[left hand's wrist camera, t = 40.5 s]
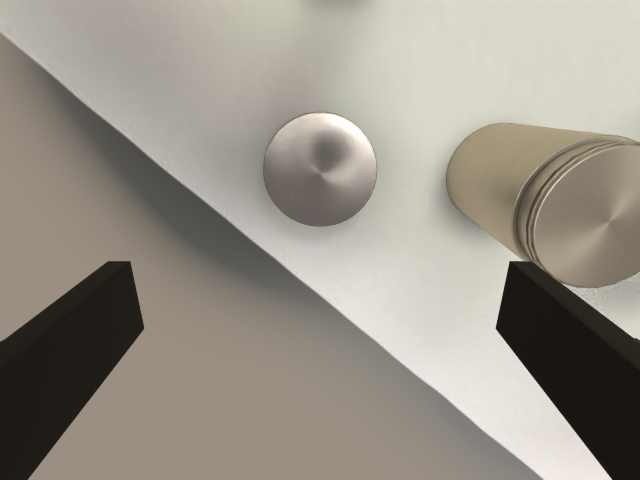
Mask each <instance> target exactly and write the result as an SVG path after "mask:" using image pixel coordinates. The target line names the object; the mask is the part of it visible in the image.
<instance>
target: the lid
mask: <svg viewBox="0 0 640 480" xmlns="http://www.w3.org/2000/svg"><path fill="white" fill-rule="evenodd" d="M263 173H264V181H265V185H266V188H267V191H268V193H269V195H270V197H271V199H272V201H273V202H274V203H275V205H276V206H277V207H278V208H279V209H280V210H281V211H282V212H283V213H284V214H285V215H287V216H288V217H290V218H291V219H293V220H295V221H297V222H299V223H302V224H305V225H310V226H330V225H335V224H338V223H341V222H343V221H345V220H347V219H349V218H351V217H352V216H354V215H355V214H356V213H357V212H359V211H360V210H361V208H362V207H363V206H364V205H365V204H366V202H367V201H368V199H369V198H370V196H371V194H372V192H373V189H374V186H375V182H376V176H377V163H376V157H375V153H374V150H373V148H372V145H371V143H370V141H369V140H368V138H367V137H366V135H365V134H364V133H363V132H362V131H361V130H360V129H359V128H358V127H357V126H356V125H355V124H353V123H352V122H351V121H349V120H347V119H346V118H344V117H342V116H339V115H336V114H333V113H328V112H313V113H308V114H304V115H301V116H299V117H297V118H295V119H293V120H291V121H290V122H288V123H287V124H286V125H284V126H283V127H282V128H281V129H280V130H279V131H278V132H277V133H276V135H275V136H274V137H273V139H272V140H271V142H270V144H269V146H268V148H267V151H266V154H265V158H264V165H263Z"/></svg>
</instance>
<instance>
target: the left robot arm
mask: <svg viewBox="0 0 640 480" xmlns="http://www.w3.org/2000/svg"><path fill="white" fill-rule="evenodd" d="M143 330H144V325H143V320H142V315H141V310H140V306H139V301H138V296H137V291H136V286H135V282H134V277H133V272H132V267H131V263H130V261H108V262H107V263H105V264H104V265H103V266H101V267H100V268H99V269H97V270H96V271H95V272H93V273H92V274H91V275H89V276H88V277H87V278H85V279H84V280H83V281H81V282H80V283H79V284H78V285H76V286H75V287H73V288H72V289H71V290H70V291H68V292H67V293H66V294H64V295H63V296H62V297H60V298H59V299H58V300H56V301H55V302H54V303H52V304H51V305H50V306H48V307H47V308H46V309H44V310H43V311H42V312H40V313H39V314H38V315H36V316H35V317H34V318H32V319H31V320H30V321H29V322H27V323H26V324H25V325H23V326H22V327H21V328H19V329H18V330H17V331H15V332H14V333H13V334H11V335H10V336H9V337H7V338H6V339H5V340H3V341H1V342H0V480H28V479H29V477H30V476H31V475H32V473H33V472H34V471H35V470H36V468H37V467H38V466H39V464H40V463H41V462H42V460H43V459H44V458H45V457H46V455H47V454H48V453H49V451H50V450H51V449H52V447H53V446H54V445H55V444H56V442H57V441H58V440H59V438H60V437H61V436H62V435H63V433H64V432H65V431H66V429H67V428H68V427H69V425H70V424H71V423H72V422H73V420H74V419H75V418H76V416H77V415H78V414H79V412H80V411H81V410H82V409H83V407H84V406H85V405H86V403H87V402H88V401H89V400H90V398H91V397H92V396H93V394H94V393H95V392H96V391H97V389H98V388H99V387H100V385H101V384H102V383H103V381H104V380H105V379H106V378H107V376H108V375H109V374H110V372H111V371H112V370H113V368H114V367H115V366H116V365H117V363H118V362H119V361H120V359H121V358H122V357H123V356H124V354H125V353H126V352H127V350H128V349H129V348H130V346H131V345H132V344H133V343H134V341H135V340H136V339H137V337H138V336H139V335H140V334H141V332H142V331H143ZM496 330H497V331H498V332H499V334H500V335H501V336H502V337H503V339H504V340H505V341H506V343H507V344H508V345H509V346H510V348H511V349H512V350H513V352H514V353H515V354H516V356H517V357H518V358H519V359H520V361H521V362H522V363H523V365H524V366H525V367H526V369H527V370H528V371H529V372H530V374H531V375H532V376H533V378H534V379H535V380H536V381H537V383H538V384H539V385H540V387H541V388H542V389H543V391H544V392H545V393H546V394H547V396H548V397H549V398H550V400H551V401H552V402H553V403H554V405H555V406H556V407H557V409H558V410H559V411H560V413H561V414H562V415H563V416H564V418H565V419H566V420H567V422H568V423H569V424H570V425H571V427H572V428H573V429H574V431H575V432H576V433H577V435H578V436H579V437H580V438H581V440H582V441H583V442H584V444H585V445H586V446H587V448H588V449H589V450H590V451H591V453H592V454H593V455H594V457H595V458H596V459H597V460H598V462H599V463H600V464H601V466H602V467H603V468H604V470H605V471H606V472H607V473H608V475H609V476H610V477H611V479H612V480H640V340H639V339H637V338H633V337H631V336H630V335H629V334H627V333H626V332H625V331H623V330H622V329H621V328H619V327H618V326H617V325H615V324H614V323H613V322H611V321H610V320H609V319H608V318H606V317H605V316H604V315H602V314H601V313H600V312H598V311H597V310H596V309H594V308H593V307H592V306H590V305H589V304H588V303H586V302H585V301H584V300H582V299H581V298H580V297H578V296H577V295H576V294H574V293H573V292H572V291H570V290H569V289H568V288H567V287H565V286H564V285H563V284H561V283H560V282H559V281H557V280H556V279H555V278H553V277H552V276H551V275H549V274H548V273H547V272H545V271H544V270H543V269H541V268H540V267H539V266H537V265H536V264H535V263H533V262H532V261H510V263H509V267H508V272H507V277H506V282H505V286H504V291H503V296H502V301H501V305H500V310H499V315H498V320H497V325H496Z"/></svg>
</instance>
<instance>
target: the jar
mask: <svg viewBox="0 0 640 480" xmlns="http://www.w3.org/2000/svg"><path fill="white" fill-rule="evenodd" d="M446 182H447V190H448V193H449V196H450V199H451V200H452V202H453V204H454V205H455V206H456V208H458V209H459V210H460V211H461V212H462V213H463V214H465V215H466V216H467V217H468V218H470V219H471V220H472V221H473V222H475V223H476V224H477V225H479V226H480V227H481V228H482V229H484V230H485V231H486V232H487V233H489V234H490V235H491V236H493V237H494V238H495V239H496V240H498V241H499V242H500V243H501V244H503V245H504V246H505V247H507V248H508V249H509V250H510V251H512V252H513V253H514V254H515V255H517V256H518V257H519V258H521V259H522V260H523V261H532V262H533V263H535V264H536V265H537V266H539V267H540V268H541V269H543V270H544V271H545V272H547V273H548V274H549V275H551V276H552V277H553V278H555V279H556V280H557V281H559V282H560V283H562V284H565V285H569V286H573V287H577V288H599V287H603V286H608V285H612V284H616V283H617V282H619V281H622V280H625V279H627V278H629V277H631V276H633V275H635V274H637V273H638V272H640V142H637V141H634V140H632V139H629V138H626V137H621V136H616V135H607V134H598V133H590V132H581V131H573V130H564V129H555V128H547V127H538V126H530V125H521V124H512V123H497V124H492V125H489V126H486V127H483V128H481V129H479V130H477V131H476V132H474V133H472V134H471V135H470V136H469V137H467V138H466V139H465V140H464V141H463V142H462V143H461V144H460V146H459V147H458V148H457V149H456V151H455V153H454V154H453V156H452V158H451V160H450V163H449V166H448V170H447V178H446Z"/></svg>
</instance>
